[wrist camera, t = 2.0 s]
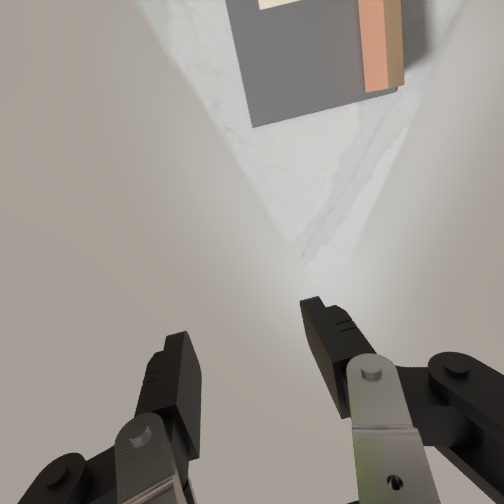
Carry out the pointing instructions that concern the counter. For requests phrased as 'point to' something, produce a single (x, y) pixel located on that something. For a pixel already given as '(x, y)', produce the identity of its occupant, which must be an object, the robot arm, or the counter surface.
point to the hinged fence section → (381, 43)
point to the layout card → (298, 56)
